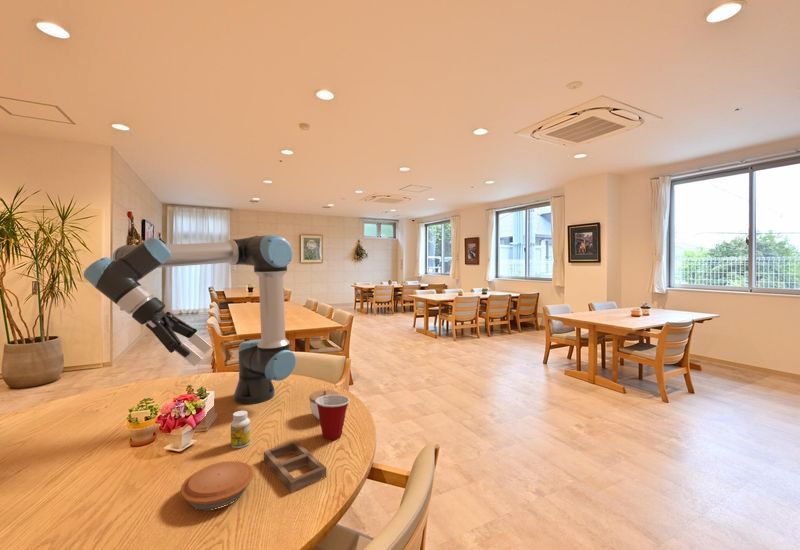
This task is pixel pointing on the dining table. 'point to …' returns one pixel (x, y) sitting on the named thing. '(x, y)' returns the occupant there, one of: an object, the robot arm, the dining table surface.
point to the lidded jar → (315, 395)
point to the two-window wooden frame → (294, 465)
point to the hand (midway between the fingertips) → (204, 356)
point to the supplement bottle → (240, 430)
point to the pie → (217, 484)
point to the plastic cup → (332, 415)
